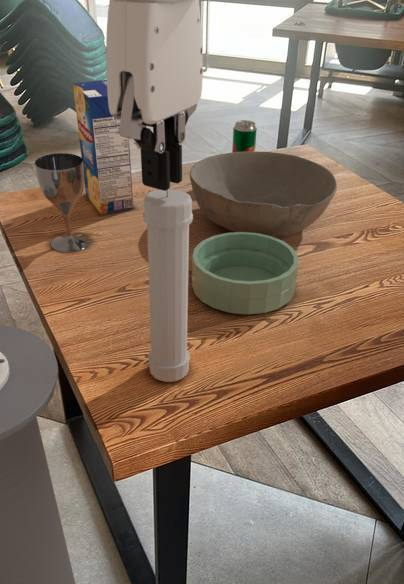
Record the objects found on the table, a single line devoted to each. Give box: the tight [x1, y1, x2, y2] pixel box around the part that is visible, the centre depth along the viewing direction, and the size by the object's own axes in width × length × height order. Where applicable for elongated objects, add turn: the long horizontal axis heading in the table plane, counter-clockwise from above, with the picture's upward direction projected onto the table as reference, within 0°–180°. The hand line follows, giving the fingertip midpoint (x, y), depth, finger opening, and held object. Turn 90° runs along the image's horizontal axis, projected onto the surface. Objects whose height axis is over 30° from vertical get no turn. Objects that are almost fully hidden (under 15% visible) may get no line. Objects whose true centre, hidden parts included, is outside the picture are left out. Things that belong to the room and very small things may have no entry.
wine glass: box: [34, 152, 91, 253], centre depth 100 cm, size 8×8×15 cm
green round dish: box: [191, 231, 299, 315], centre depth 92 cm, size 17×17×6 cm
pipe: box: [133, 141, 194, 383], centre depth 68 cm, size 6×6×30 cm
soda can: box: [231, 119, 258, 153], centre depth 127 cm, size 5×5×12 cm
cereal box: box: [72, 79, 134, 215], centre depth 113 cm, size 7×11×22 cm, turn 25°
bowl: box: [189, 150, 338, 238], centre depth 110 cm, size 28×28×10 cm
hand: (162, 182), depth 61 cm, fingers closed
